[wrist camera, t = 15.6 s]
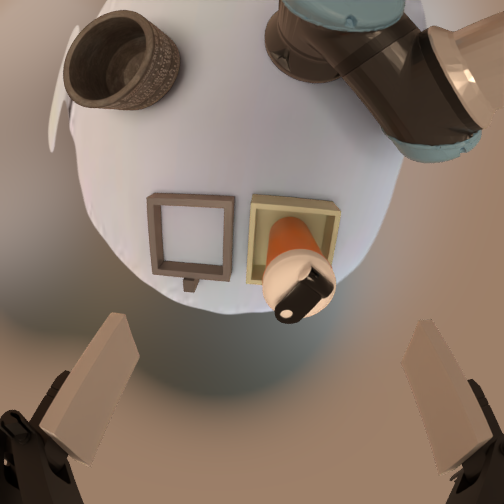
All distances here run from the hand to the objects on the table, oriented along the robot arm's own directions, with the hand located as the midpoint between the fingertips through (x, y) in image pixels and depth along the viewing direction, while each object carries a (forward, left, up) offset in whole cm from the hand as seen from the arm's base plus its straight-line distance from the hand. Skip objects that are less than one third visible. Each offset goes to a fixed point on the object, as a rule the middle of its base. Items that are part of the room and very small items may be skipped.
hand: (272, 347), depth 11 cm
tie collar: (+11, -13, -37) cm, 41 cm away
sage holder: (+9, +4, -37) cm, 39 cm away
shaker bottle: (+9, +4, -37) cm, 38 cm away
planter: (-19, -22, -38) cm, 47 cm away
